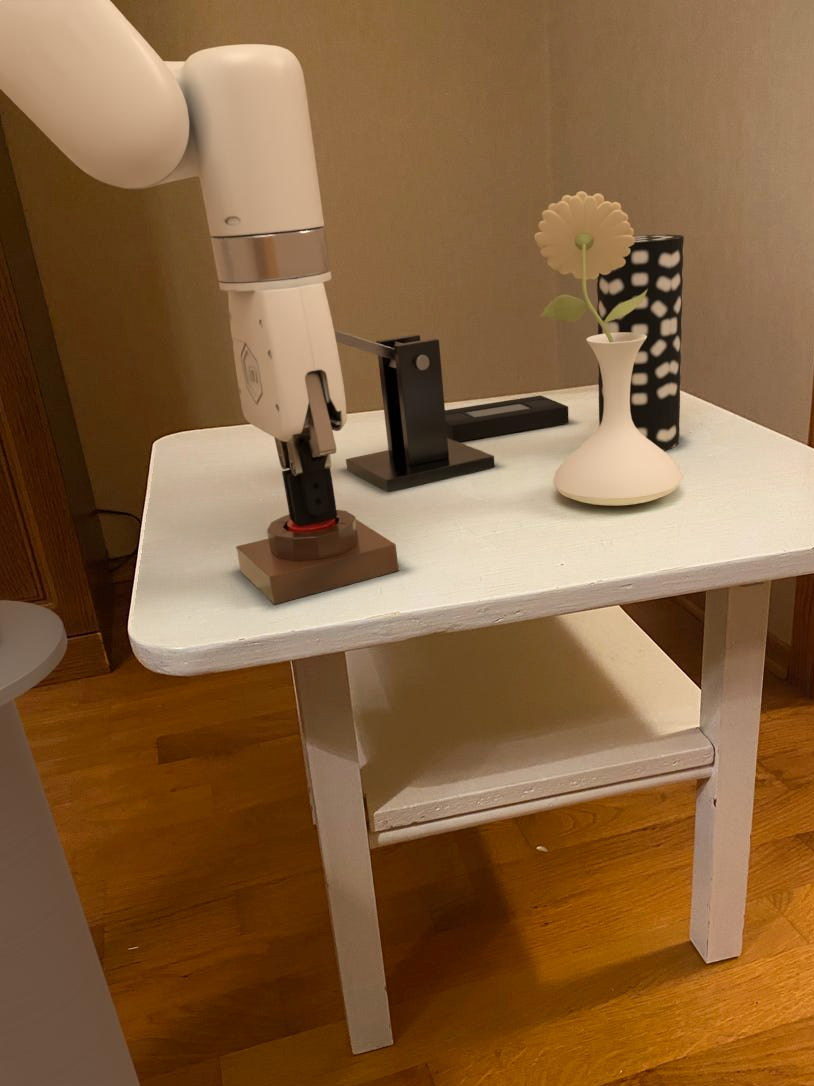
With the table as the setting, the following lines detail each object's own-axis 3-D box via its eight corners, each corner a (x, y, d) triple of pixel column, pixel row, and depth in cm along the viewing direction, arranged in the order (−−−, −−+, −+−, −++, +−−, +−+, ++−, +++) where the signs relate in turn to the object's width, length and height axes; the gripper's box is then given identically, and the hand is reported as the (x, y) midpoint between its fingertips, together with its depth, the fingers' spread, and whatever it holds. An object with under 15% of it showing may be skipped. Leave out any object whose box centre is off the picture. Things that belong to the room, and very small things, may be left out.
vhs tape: (430, 429, 113) (429, 412, 112) (541, 411, 117) (540, 395, 116) (453, 443, 106) (451, 425, 106) (568, 423, 111) (568, 406, 110)
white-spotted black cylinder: (598, 455, 98) (594, 245, 89) (600, 434, 106) (597, 238, 97) (680, 452, 97) (685, 239, 88) (677, 431, 104) (681, 232, 96)
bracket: (387, 492, 92) (372, 355, 86) (346, 470, 100) (329, 343, 94) (495, 467, 97) (486, 336, 91) (448, 448, 105) (437, 326, 99)
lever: (258, 331, 84) (267, 294, 83) (247, 328, 86) (255, 291, 86) (424, 381, 93) (433, 348, 93) (409, 376, 96) (418, 344, 95)
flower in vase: (701, 484, 87) (711, 181, 76) (651, 524, 79) (654, 189, 68) (573, 471, 94) (565, 190, 83) (514, 506, 85) (497, 198, 74)
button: (300, 554, 71) (296, 532, 70) (284, 541, 74) (280, 520, 73) (345, 543, 73) (342, 521, 72) (327, 530, 76) (324, 509, 75)
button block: (274, 604, 69) (265, 553, 67) (240, 572, 75) (231, 524, 74) (399, 571, 73) (393, 521, 72) (357, 542, 80) (351, 496, 78)
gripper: (188, 264, 69) (236, 507, 77) (254, 273, 57) (302, 560, 65) (287, 252, 72) (323, 487, 80) (369, 259, 60) (401, 534, 68)
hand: (314, 519), depth 73 cm, fingers closed
